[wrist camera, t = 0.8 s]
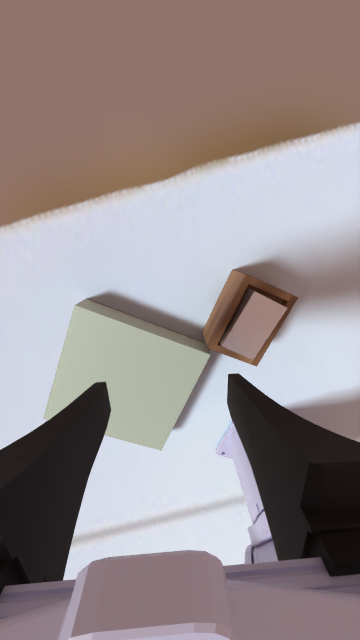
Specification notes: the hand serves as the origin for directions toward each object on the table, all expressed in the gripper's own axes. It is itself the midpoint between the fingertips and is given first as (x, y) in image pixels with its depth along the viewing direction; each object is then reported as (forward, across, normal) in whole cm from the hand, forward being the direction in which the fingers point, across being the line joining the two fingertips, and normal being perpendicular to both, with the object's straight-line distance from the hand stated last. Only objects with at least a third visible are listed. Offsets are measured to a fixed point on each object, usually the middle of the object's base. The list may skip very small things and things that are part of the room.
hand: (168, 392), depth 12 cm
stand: (+10, +5, +5) cm, 12 cm away
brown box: (+10, -7, -2) cm, 13 cm away
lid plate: (+7, -7, -2) cm, 10 cm away
